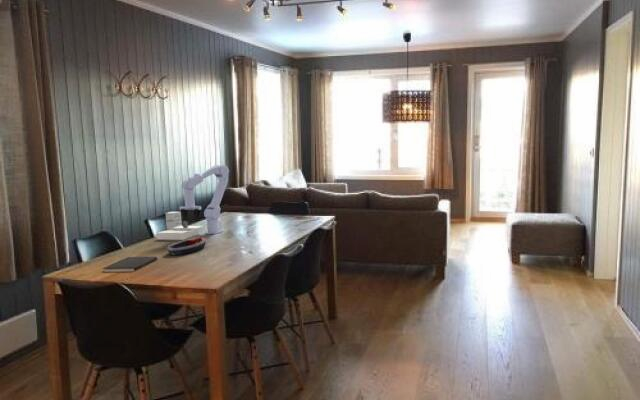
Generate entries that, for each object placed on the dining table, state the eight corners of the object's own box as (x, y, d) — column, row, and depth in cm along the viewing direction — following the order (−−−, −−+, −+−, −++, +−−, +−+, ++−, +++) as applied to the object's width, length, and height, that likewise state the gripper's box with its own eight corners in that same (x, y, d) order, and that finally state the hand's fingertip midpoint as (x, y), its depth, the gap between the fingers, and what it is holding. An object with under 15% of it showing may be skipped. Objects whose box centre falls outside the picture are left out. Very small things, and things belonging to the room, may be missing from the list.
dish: (158, 256, 281) (158, 247, 280) (193, 244, 309) (192, 235, 309) (183, 257, 275) (182, 247, 275) (216, 245, 304) (215, 236, 303)
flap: (180, 226, 350) (179, 219, 350) (203, 226, 344) (203, 219, 343) (172, 228, 343) (172, 221, 342) (196, 228, 336) (196, 221, 336)
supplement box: (166, 231, 359) (164, 213, 357) (173, 229, 366) (171, 211, 364) (175, 231, 356) (174, 213, 355) (182, 229, 363) (180, 211, 361)
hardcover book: (103, 273, 252) (102, 268, 252) (128, 261, 275) (128, 257, 274) (134, 272, 249) (134, 267, 249) (157, 261, 272) (157, 256, 271)
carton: (173, 235, 343) (172, 228, 343) (197, 235, 337) (196, 228, 336) (157, 240, 328) (156, 232, 328) (182, 240, 322) (181, 233, 321)
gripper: (175, 200, 328) (177, 222, 330) (196, 200, 323) (197, 222, 325) (182, 198, 335) (184, 220, 336) (202, 198, 330) (204, 220, 331)
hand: (191, 221), depth 331 cm, fingers open, 7 cm apart
